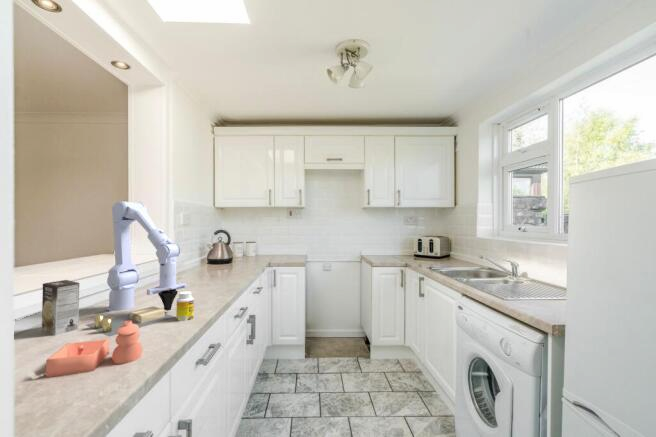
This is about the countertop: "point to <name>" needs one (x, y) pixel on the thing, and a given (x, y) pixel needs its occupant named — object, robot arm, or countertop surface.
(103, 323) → the bench dogs
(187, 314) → the supplement bottle
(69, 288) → the coffee box
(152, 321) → the board
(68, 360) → the pottery
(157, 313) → the cream beveled panel
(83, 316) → the countertop surface
